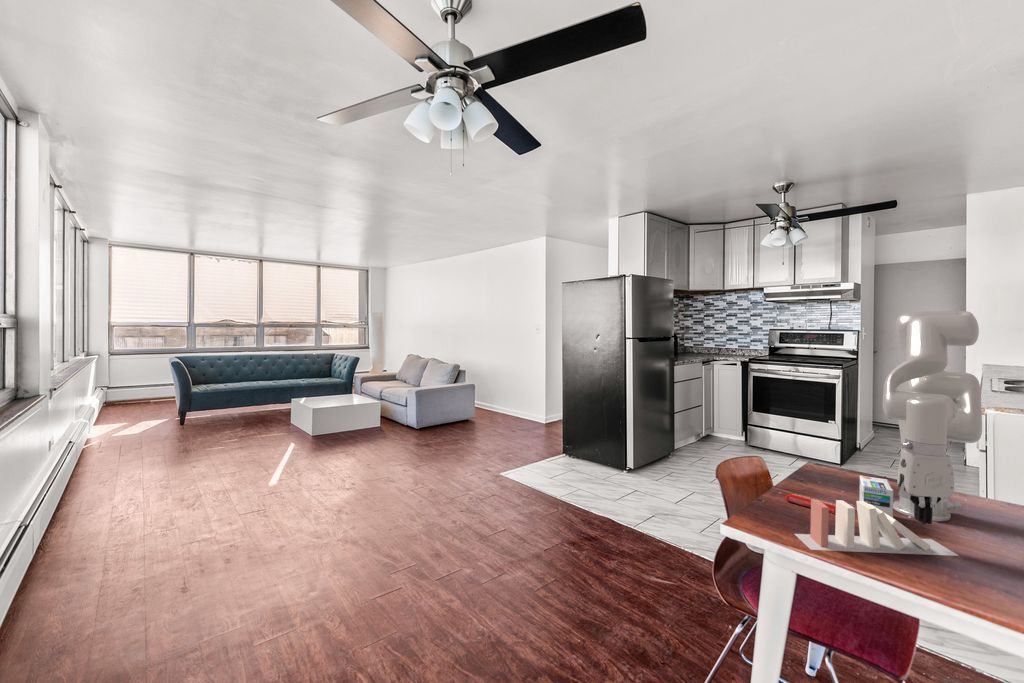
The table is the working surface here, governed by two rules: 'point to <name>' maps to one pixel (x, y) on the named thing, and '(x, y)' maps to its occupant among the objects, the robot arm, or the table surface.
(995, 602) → the table surface
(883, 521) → the domino
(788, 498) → the candy bar
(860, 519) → the domino
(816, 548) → the felt strip
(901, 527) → the domino
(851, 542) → the domino
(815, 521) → the domino
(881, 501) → the light bulb box
